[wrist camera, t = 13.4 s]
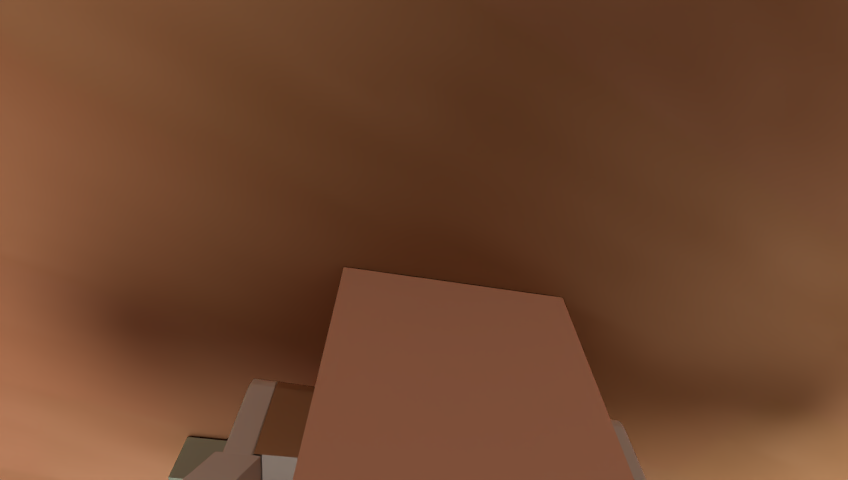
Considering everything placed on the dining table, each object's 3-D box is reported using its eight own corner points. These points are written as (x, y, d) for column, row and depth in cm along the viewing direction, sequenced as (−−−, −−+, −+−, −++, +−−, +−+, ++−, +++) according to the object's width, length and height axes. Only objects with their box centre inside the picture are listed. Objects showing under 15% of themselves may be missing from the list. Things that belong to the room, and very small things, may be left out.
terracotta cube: (344, 266, 10) (285, 507, 6) (562, 298, 10) (657, 538, 6) (329, 408, 13) (282, 641, 8) (502, 427, 13) (541, 656, 9)
